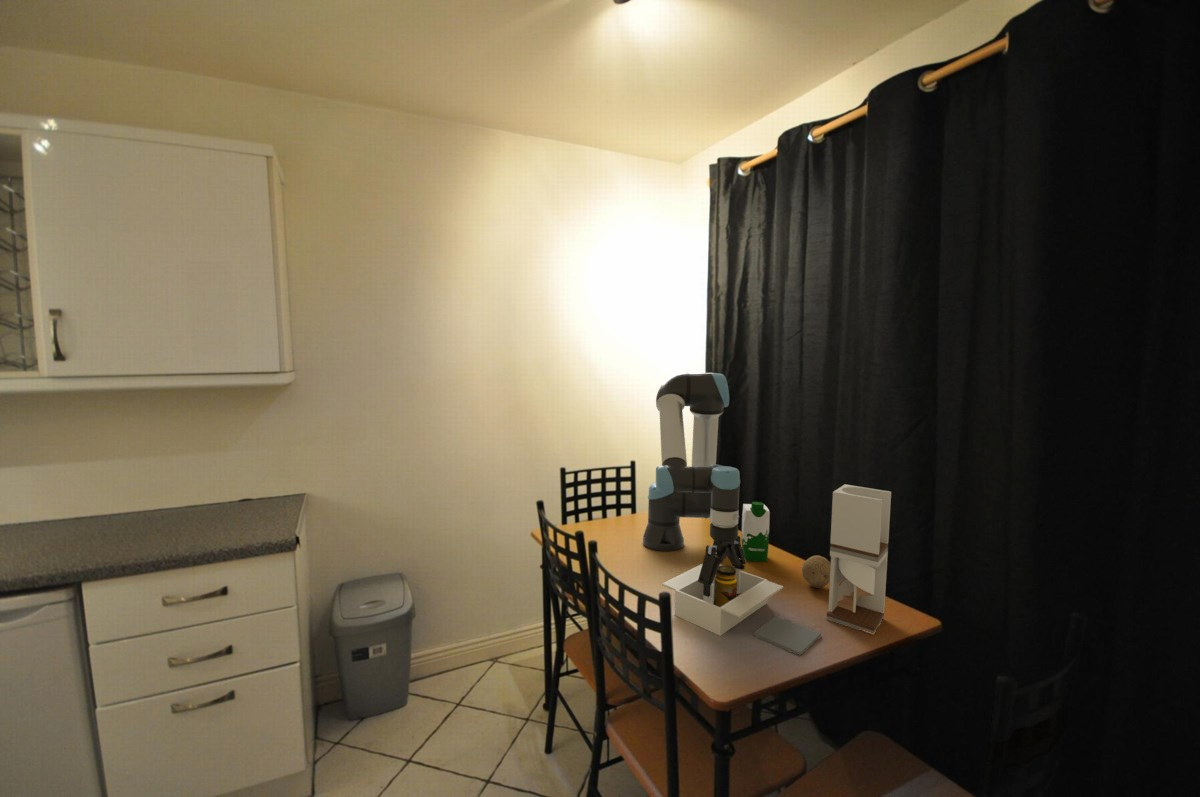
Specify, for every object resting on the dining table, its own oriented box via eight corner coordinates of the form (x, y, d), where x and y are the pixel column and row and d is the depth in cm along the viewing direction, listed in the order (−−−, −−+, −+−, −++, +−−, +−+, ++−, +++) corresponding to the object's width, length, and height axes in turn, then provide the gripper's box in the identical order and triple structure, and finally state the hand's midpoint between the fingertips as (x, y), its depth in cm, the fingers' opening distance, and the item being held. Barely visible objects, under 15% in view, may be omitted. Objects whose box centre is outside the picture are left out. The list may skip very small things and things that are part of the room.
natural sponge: (830, 598, 150) (831, 564, 149) (798, 590, 155) (799, 558, 154) (834, 586, 158) (835, 554, 157) (803, 579, 162) (804, 548, 162)
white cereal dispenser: (826, 620, 138) (832, 491, 135) (838, 605, 146) (844, 484, 143) (873, 635, 130) (881, 500, 127) (883, 619, 138) (891, 491, 135)
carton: (660, 608, 143) (660, 584, 143) (709, 581, 160) (709, 560, 160) (737, 643, 126) (738, 616, 125) (783, 609, 143) (784, 585, 142)
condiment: (735, 618, 138) (737, 575, 137) (704, 612, 141) (705, 570, 140) (738, 606, 145) (740, 565, 144) (708, 600, 148) (709, 560, 147)
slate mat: (753, 635, 130) (753, 632, 130) (776, 618, 138) (776, 615, 138) (800, 655, 121) (800, 652, 121) (821, 636, 130) (821, 633, 130)
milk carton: (743, 562, 176) (745, 504, 174) (739, 551, 185) (741, 497, 183) (770, 563, 175) (772, 505, 173) (764, 553, 184) (766, 498, 182)
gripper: (710, 538, 130) (708, 619, 131) (759, 517, 147) (756, 588, 149) (685, 530, 135) (684, 608, 137) (736, 511, 152) (733, 580, 154)
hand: (722, 598), depth 143 cm, fingers open, 13 cm apart
